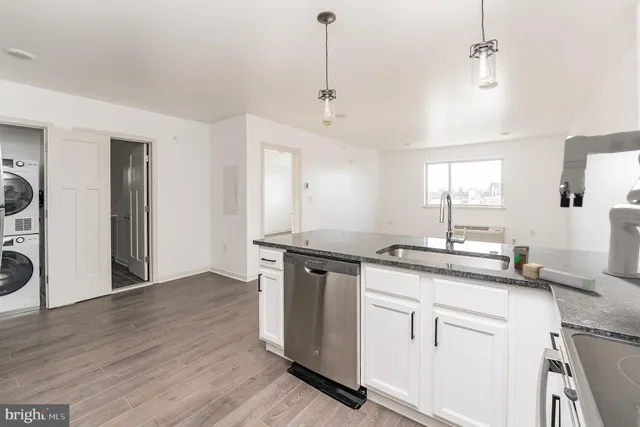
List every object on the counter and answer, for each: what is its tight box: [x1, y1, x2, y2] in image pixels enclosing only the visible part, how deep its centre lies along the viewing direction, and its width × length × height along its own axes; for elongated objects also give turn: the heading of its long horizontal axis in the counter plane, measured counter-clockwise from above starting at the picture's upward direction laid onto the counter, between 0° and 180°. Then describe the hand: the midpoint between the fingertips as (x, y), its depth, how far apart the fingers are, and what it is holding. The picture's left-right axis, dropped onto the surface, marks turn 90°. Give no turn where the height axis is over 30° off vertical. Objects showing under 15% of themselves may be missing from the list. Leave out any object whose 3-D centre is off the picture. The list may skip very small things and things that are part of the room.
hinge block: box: [521, 263, 545, 280], centre depth 132 cm, size 6×5×5 cm
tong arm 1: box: [538, 268, 594, 292], centre depth 120 cm, size 18×2×4 cm, turn 25°
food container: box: [512, 245, 530, 272], centre depth 146 cm, size 12×6×10 cm, turn 141°
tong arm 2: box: [543, 267, 597, 292], centre depth 121 cm, size 18×2×4 cm, turn 24°
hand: (571, 207), depth 129 cm, fingers open, 9 cm apart
